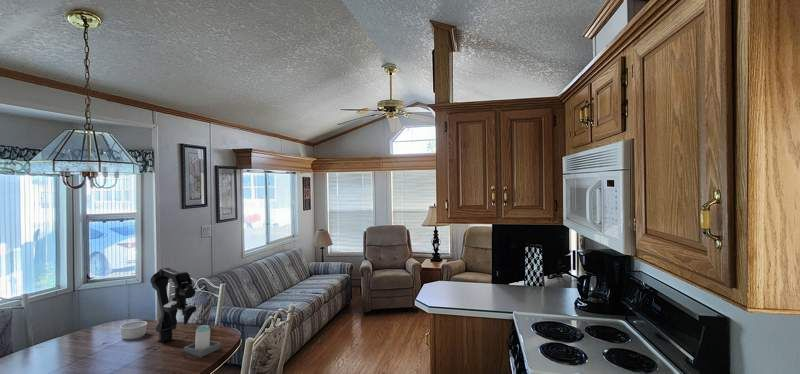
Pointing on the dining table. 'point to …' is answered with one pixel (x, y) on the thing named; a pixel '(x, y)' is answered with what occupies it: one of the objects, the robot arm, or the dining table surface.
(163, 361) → the dining table surface
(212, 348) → the bin
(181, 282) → the robot arm
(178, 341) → the dining table surface
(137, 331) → the ramekin
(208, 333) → the can
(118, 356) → the dining table surface
